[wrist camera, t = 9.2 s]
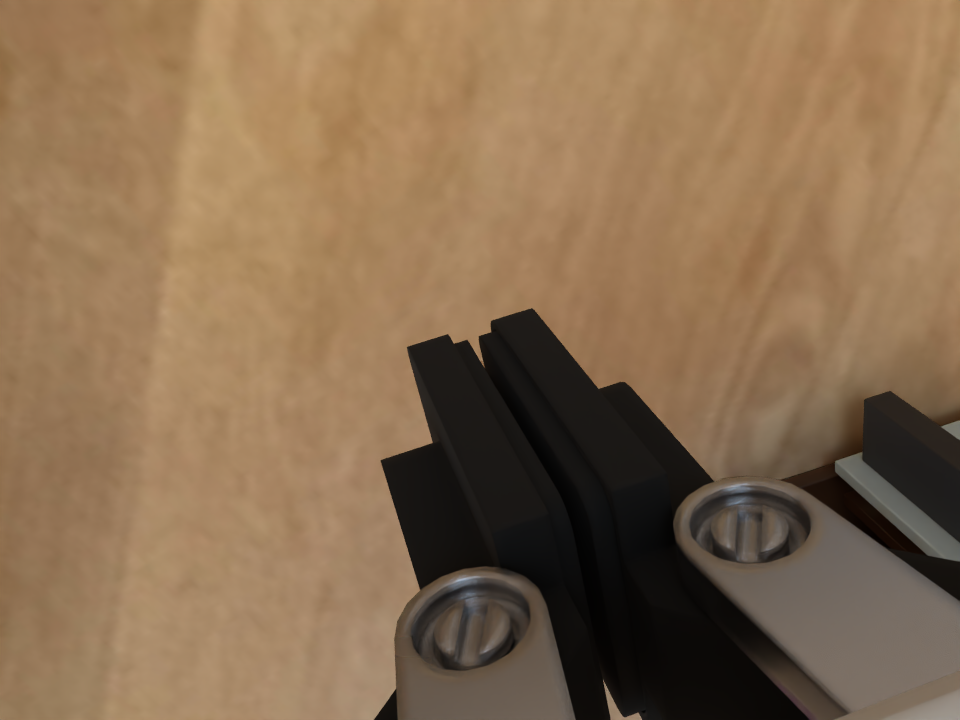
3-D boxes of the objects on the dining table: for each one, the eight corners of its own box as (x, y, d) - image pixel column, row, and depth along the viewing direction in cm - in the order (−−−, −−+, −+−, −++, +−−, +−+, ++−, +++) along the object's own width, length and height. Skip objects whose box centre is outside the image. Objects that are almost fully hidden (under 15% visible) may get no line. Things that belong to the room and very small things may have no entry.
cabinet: (659, 519, 37) (832, 754, 27) (995, 409, 39) (1274, 586, 29) (677, 684, 42) (828, 938, 32) (975, 578, 44) (1208, 782, 34)
